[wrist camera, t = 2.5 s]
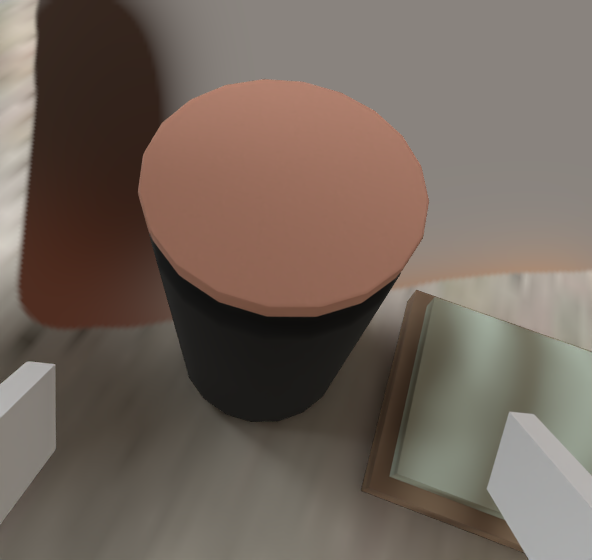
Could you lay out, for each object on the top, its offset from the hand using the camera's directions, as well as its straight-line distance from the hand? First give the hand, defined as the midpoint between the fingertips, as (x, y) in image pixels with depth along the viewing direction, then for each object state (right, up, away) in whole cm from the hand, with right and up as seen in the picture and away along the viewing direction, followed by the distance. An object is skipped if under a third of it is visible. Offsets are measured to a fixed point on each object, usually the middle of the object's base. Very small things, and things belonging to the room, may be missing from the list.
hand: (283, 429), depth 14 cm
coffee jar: (-2, -1, +19) cm, 20 cm away
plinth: (+13, -5, +19) cm, 23 cm away
